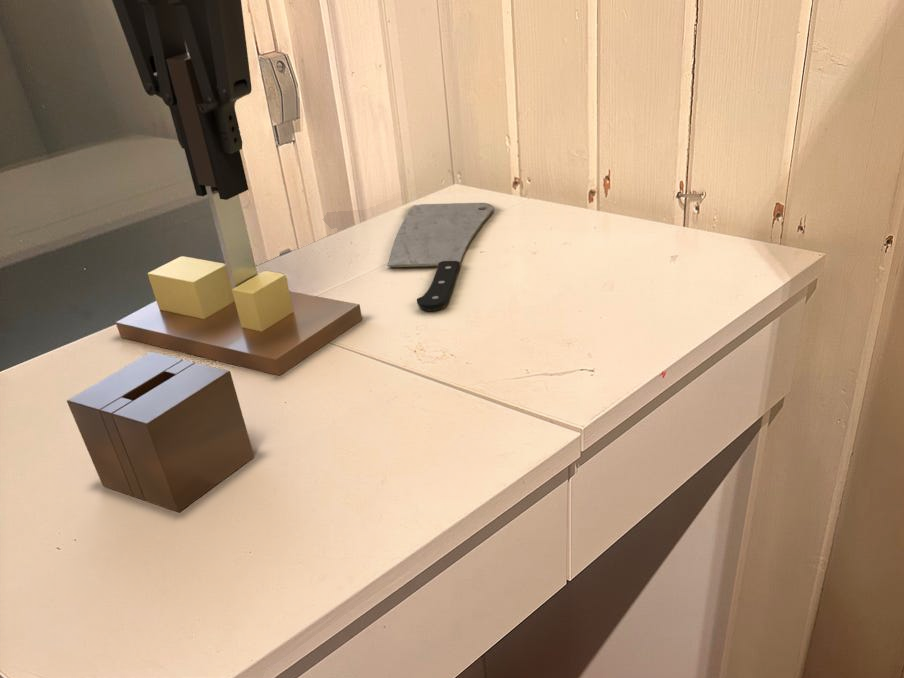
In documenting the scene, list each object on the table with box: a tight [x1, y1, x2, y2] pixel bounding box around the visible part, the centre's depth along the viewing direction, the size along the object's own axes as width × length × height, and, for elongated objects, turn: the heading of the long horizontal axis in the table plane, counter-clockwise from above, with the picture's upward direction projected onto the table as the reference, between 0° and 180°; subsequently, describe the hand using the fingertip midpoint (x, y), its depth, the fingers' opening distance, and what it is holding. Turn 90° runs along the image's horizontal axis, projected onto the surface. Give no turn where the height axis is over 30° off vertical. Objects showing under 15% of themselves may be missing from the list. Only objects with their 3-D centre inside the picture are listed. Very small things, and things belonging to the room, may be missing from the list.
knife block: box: [66, 351, 255, 513], centre depth 66 cm, size 8×8×7 cm
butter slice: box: [232, 270, 294, 332], centre depth 82 cm, size 2×4×4 cm, turn 149°
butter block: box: [147, 255, 235, 319], centre depth 86 cm, size 6×4×4 cm
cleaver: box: [386, 202, 495, 311], centre depth 96 cm, size 29×1×10 cm
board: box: [115, 290, 363, 376], centre depth 86 cm, size 20×12×2 cm, turn 59°
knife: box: [166, 51, 258, 289], centre depth 77 cm, size 2×3×19 cm, turn 149°
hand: (222, 191), depth 77 cm, fingers closed on knife, 2 cm apart
